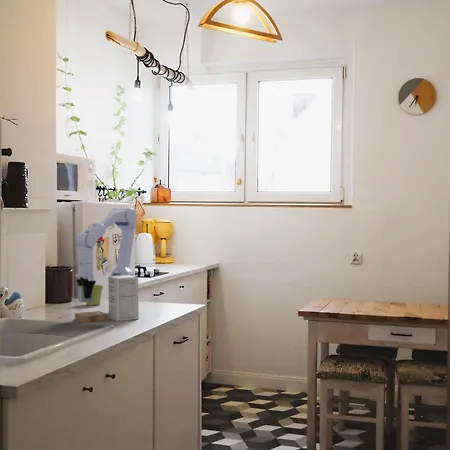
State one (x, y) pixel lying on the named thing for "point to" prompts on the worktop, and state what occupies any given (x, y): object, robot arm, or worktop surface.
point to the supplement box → (123, 297)
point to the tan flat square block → (91, 317)
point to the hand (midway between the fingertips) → (85, 297)
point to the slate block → (81, 295)
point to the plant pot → (96, 295)
